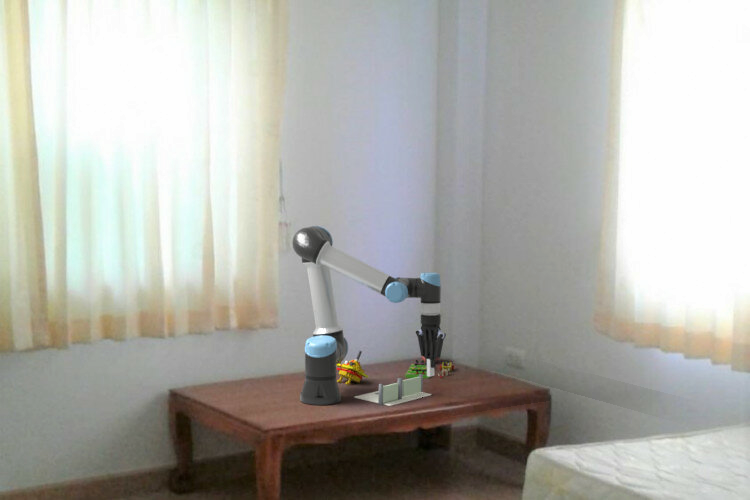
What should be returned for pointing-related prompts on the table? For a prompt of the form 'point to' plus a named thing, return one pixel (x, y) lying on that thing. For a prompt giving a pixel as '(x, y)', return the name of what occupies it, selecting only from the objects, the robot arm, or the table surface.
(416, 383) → the fence panel
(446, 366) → the toy garden set
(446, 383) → the table surface
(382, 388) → the fence fixed
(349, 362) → the toy
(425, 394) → the card
